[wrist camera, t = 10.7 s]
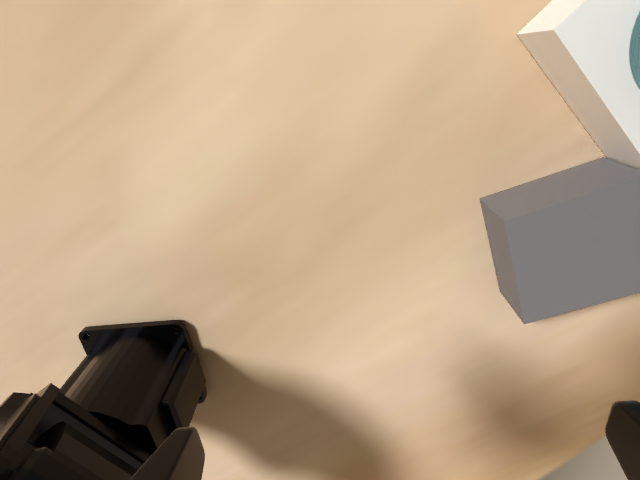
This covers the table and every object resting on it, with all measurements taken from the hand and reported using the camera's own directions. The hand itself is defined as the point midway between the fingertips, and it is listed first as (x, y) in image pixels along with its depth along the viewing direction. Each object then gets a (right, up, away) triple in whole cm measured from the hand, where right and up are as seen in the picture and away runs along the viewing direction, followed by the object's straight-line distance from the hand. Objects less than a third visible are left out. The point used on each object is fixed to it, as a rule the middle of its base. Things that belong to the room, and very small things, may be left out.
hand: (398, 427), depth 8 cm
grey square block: (+10, +5, +12) cm, 17 cm away
